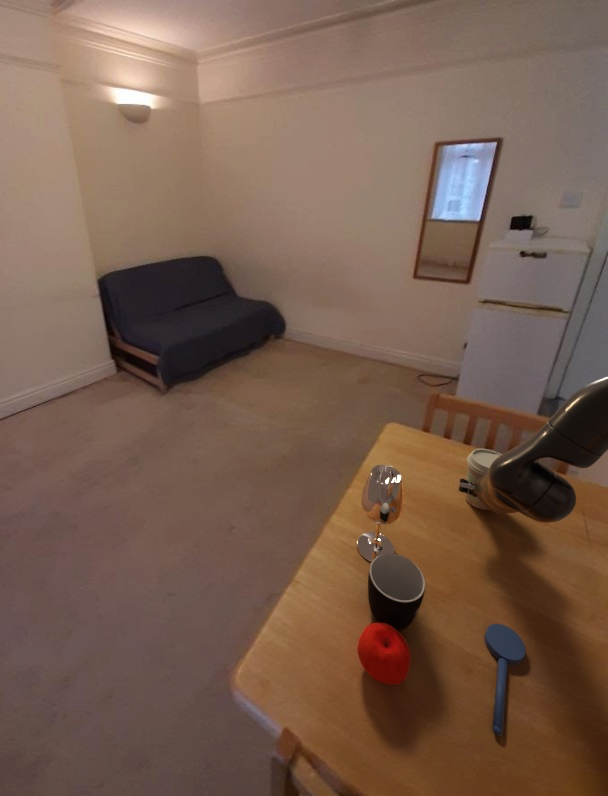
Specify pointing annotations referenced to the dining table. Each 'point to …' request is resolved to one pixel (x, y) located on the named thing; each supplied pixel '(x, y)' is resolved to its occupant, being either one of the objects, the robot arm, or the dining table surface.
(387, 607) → the mug
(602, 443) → the robot arm
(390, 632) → the apple
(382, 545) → the wineglass
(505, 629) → the blue spoon
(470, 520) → the dining table surface
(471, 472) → the coffee cup
